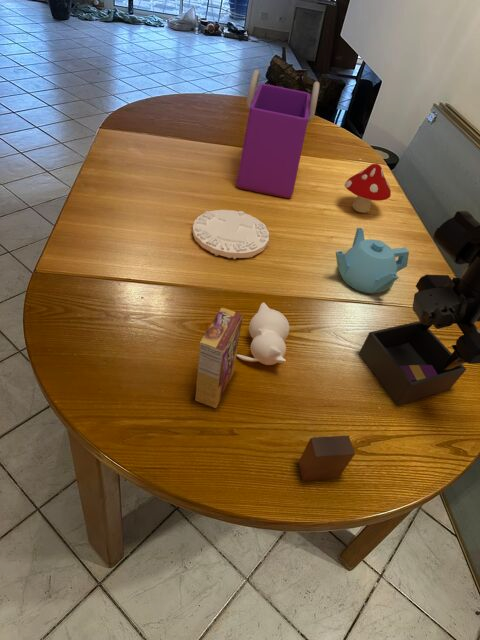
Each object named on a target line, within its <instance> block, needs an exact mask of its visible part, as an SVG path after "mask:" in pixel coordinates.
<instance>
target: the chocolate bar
mask: <svg viewBox="0 0 480 640" xmlns="http://www.w3.org/2000/svg"><path fill="white" fill-rule="evenodd" d="M400 367H401V368H402V370H403V371H404V372H405V373H406V375H407V376H408V377H409V378H410V380H411V381H412V382H414V381H417V380H421V379H424V378H428V377H431V376H435V375H438V374H437V373H436V371H435V369H434V368H433V366H432V365H409V366H400Z"/></svg>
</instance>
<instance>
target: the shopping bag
mask: <svg viewBox="0 0 480 640" xmlns="http://www.w3.org/2000/svg"><path fill="white" fill-rule="evenodd" d="M260 73H261V72H260V70H259V69H254V71H253V72H252V76H251V80H250V84H249V88H248V94H247V98H246V107H247V109H248V117H247V121H246V122H247V123H246V127H245V128H246V129H245V134H244V138H243V144H242V150H241V155H240V162H239V167H238V173H237V178H236V187H237V188H239V189H241V190H245V191H250V192H254V193H255V192H256V193H260V194H265V195H271V196H275V197H279V198H286V199H290V198H292V196H293V194H294V189H295V186H296V181H297V175H298V171H299V166H300V161H301V156H302V151H303V146H304V142H305V138H306V132H307V127H308V123H310V122H311V121H312V120H313V119H314V117H315V114H316V110H317V109H316V108H317V103H318V98H319V93H320V87H321V86H320V85H321V84H320V82H319V81H315V82H313V85H312V90H311V93H309V92H307V91H302V90H297V89H291V88H287V87H281V86H277V85H273V84H267V83H259V80H260Z"/></svg>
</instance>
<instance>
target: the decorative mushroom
mask: <svg viewBox="0 0 480 640" xmlns="http://www.w3.org/2000/svg"><path fill="white" fill-rule="evenodd" d="M344 188H345V189H346V190H347V191H349V192H351V194H354V196H356V198H354V200H353V202H352V208H353V209H354V210H355V211H356V212H358V213H362V214H365V213H368V212H370V210H371V207H372V201H375V202H378V201H379V202H380V201H381V202H382V201H387V200H388V199H390V198H391V195H392V191H391V188H390V184H389V182H388V180H387V179H386V177H385V173H384V170H383V168H382V165H380V164H379V163H372V164H370V165H369V166H367V167H366V168H365V169H362V170H360V171H359V172H358V173H356V174H354V175H352V176H350V177H349V178H348V179H347V180H346V181H345V183H344Z"/></svg>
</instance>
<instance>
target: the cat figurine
mask: <svg viewBox="0 0 480 640" xmlns="http://www.w3.org/2000/svg"><path fill="white" fill-rule="evenodd" d="M248 325H249V326H248V331H249V336H250V337H251V339H252V341H251V342H250V347H249V348H250V353H251V355H252V356H253V357H250V356H247V355H242V354H236V358H238V359H239V360H242V361H243V362H244V361H245V362H253V363H254V362H255V363H256V362H259V363H260V364H263V365H266V366H273V365H276V364H278V363H279V364H286V362H287V359H285V358H284V357H285V356H286V353H287V345H286V342H285V341H286V340H287V338H288V337H289V334H290V329H291V328H290V322H289V321H288V319H287V318H286V316H285V315H284V314H283V313H282V312H281V311H278V310H277V309H273V308H270V307H269V306H268V305H267V304H266V303H265V302H262V303H260V305H259V308H258V311H257V312H256V313H255V315H253V317H252V318H251V319H250V322H249V324H248Z"/></svg>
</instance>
